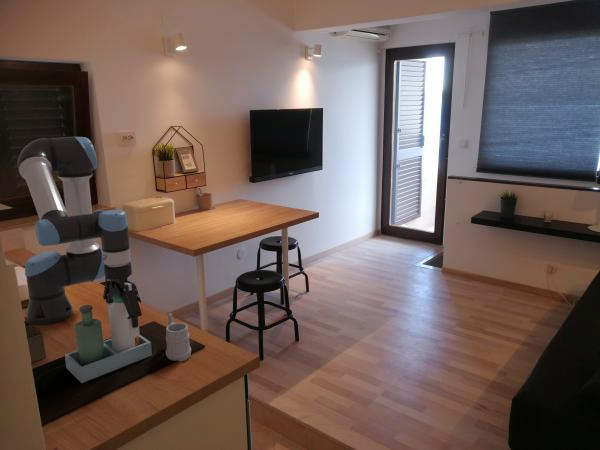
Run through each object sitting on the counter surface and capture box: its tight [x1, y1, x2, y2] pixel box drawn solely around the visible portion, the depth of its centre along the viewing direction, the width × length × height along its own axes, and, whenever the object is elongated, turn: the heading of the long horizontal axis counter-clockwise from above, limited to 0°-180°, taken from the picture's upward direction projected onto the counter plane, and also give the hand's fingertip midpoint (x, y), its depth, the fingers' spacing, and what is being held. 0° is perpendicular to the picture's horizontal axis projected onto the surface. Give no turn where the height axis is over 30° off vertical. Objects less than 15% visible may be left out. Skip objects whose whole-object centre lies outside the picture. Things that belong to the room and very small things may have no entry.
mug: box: [165, 313, 192, 362], centre depth 148 cm, size 8×12×12 cm, turn 34°
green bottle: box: [74, 304, 105, 367], centre depth 138 cm, size 7×7×19 cm
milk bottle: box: [109, 293, 139, 353], centre depth 145 cm, size 8×8×20 cm
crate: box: [64, 334, 153, 384], centre depth 144 cm, size 11×21×5 cm, turn 135°
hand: (124, 329), depth 145 cm, fingers open, 13 cm apart
